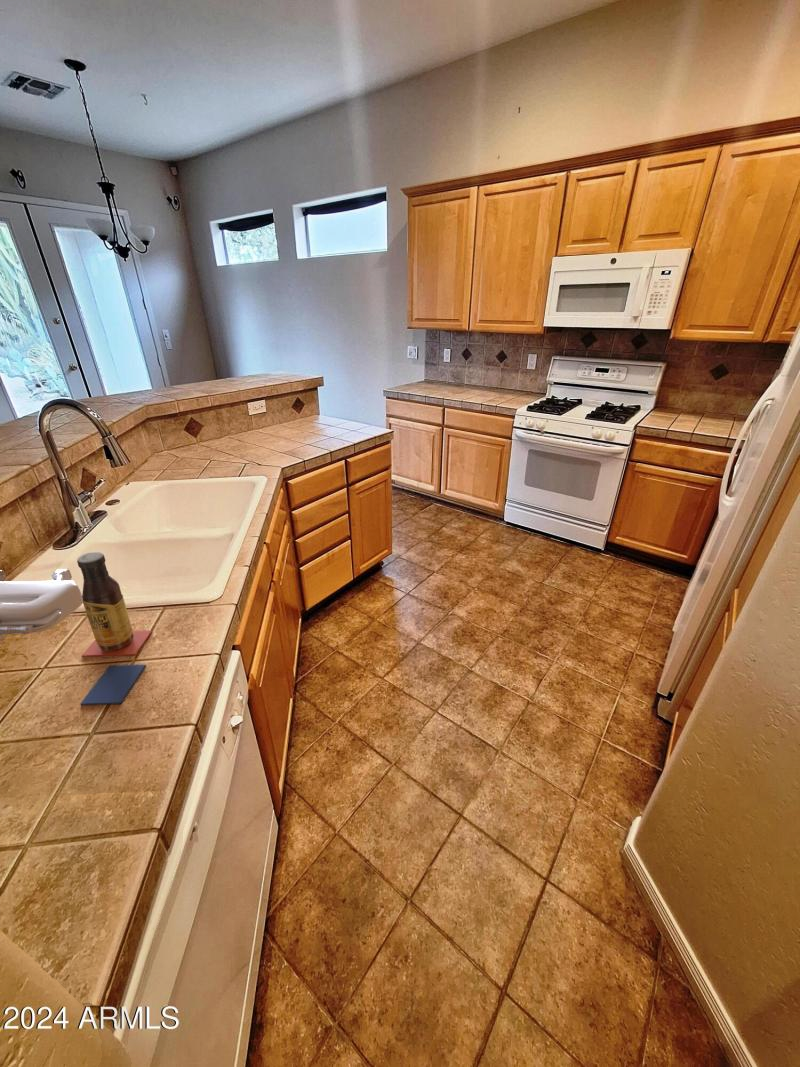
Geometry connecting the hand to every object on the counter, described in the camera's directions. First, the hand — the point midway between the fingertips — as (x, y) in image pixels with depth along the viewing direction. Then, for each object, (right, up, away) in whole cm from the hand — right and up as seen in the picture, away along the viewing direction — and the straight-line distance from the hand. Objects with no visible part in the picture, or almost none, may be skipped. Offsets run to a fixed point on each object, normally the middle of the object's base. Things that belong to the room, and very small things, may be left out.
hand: (32, 573), depth 65 cm
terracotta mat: (-1, -16, +21) cm, 27 cm away
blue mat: (+5, -21, +12) cm, 24 cm away
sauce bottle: (-1, -16, +21) cm, 27 cm away
